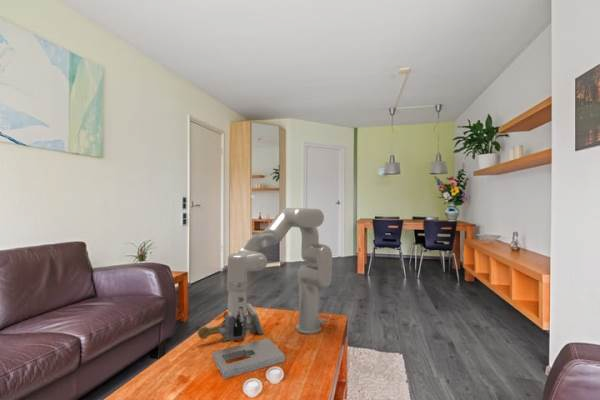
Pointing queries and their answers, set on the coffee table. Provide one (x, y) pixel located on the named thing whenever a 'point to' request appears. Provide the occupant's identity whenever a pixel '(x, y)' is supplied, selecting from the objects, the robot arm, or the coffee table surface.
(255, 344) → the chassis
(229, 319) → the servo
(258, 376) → the coffee table surface
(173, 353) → the coffee table surface
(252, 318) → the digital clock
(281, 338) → the coffee table surface
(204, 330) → the toy helicopter
